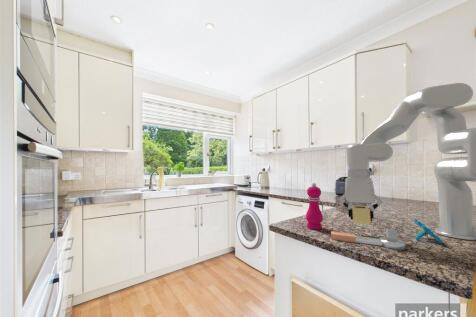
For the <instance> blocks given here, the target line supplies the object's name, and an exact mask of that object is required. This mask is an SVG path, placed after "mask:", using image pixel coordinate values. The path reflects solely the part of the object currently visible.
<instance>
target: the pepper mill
mask: <svg viewBox="0 0 476 317" xmlns="http://www.w3.org/2000/svg"><path fill="white" fill-rule="evenodd" d="M306 193H307V196H308V199H307V200H308V204H309V205H308V209H307V211H306V213H305V220H306V221H307V222H306V228H307V229H310V230H316V231H317V230H322V227H323V224H322V222H323V220H324V217H323V213H322V211H321V209H320V201H321V200H320V199H321V197H320V196H321V195H322V190H321V189H320V187H318V186H317V184H316V183H315V182H312V184H311V186H309V187H308V188H307V190H306Z"/></svg>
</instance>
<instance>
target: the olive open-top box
mask: <svg viewBox="0 0 476 317" xmlns="http://www.w3.org/2000/svg"><path fill="white" fill-rule="evenodd" d="M351 208H352V213H353V220H352V223H353V224H354V225H355V224H356V225H358V224H359V225H365V226H366V225H367V226H372V223H371V222H372V221H371V220H370V209H369V206H368V205H367V206H366V205H352V207H351Z"/></svg>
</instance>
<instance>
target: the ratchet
mask: <svg viewBox="0 0 476 317" xmlns="http://www.w3.org/2000/svg"><path fill="white" fill-rule="evenodd" d="M385 233H386V234H385V235H386V236H380V237H379V238H375V237H369V236H360V235H356V234H355V233H348V232H341V231H334V230H331V232H330V235H331V236H330V237H331V238H330V239H331V240H333V241H334V240H336V241H343V242H348V243H355V244H356V243H357V244H363V245H364V244H366V245H371V246H377V247H378V246H379V247H383V248H386V249H390V250H395V251H404V250H406V241H404V240H402V239H399V238H398V230H396V228H386V229H385Z"/></svg>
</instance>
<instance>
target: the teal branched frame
mask: <svg viewBox="0 0 476 317" xmlns="http://www.w3.org/2000/svg"><path fill="white" fill-rule="evenodd" d="M413 221H414V222H415V224H417V225H418V226H419V227H421V228H420V230H419V232H418V233H417V234H415V235H414V236H415V237H414V238H415V239H416V240H420V239H421V238H423V237H425V236H428V235H430V237H432V238H433V239H434V240H436V241H437V242H438V243H440V244H442V243H444V241H443V240H442V239H441V238H440V237H439V236H437V235H436V234H435V233H434V232H433V231H432V229H431V228H428V227H427V226H425V225H424V224H423V223H422V222H421V221H419V220H418V219H417V218H416V219H413Z"/></svg>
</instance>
